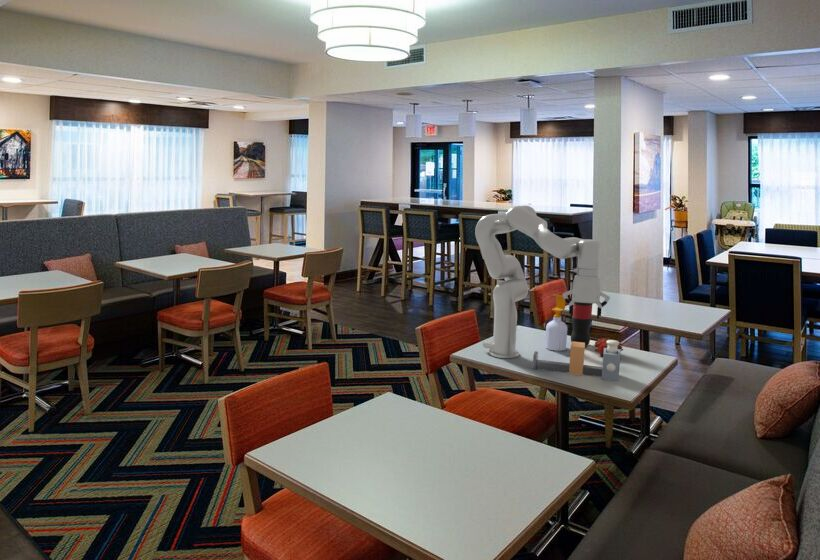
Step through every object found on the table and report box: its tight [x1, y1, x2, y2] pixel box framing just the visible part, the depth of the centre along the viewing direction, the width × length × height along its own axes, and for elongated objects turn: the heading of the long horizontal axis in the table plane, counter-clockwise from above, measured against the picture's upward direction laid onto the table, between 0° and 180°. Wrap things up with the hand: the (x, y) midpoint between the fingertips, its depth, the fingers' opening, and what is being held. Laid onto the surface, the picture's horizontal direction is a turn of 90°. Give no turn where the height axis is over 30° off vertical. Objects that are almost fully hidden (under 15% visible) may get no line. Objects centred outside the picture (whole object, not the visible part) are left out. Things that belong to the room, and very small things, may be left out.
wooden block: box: [568, 341, 586, 376], centre depth 230 cm, size 5×7×11 cm
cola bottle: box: [570, 302, 594, 347], centre depth 265 cm, size 8×8×30 cm
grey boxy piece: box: [601, 348, 621, 382], centre depth 226 cm, size 6×8×10 cm
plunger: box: [606, 339, 620, 354], centre depth 225 cm, size 5×5×5 cm
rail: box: [532, 350, 602, 378], centre depth 231 cm, size 27×5×6 cm, turn 72°
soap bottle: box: [544, 293, 568, 352], centre depth 260 cm, size 9×9×25 cm
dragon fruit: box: [593, 337, 624, 356], centre depth 252 cm, size 8×8×12 cm
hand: (584, 316), depth 226 cm, fingers open, 9 cm apart
